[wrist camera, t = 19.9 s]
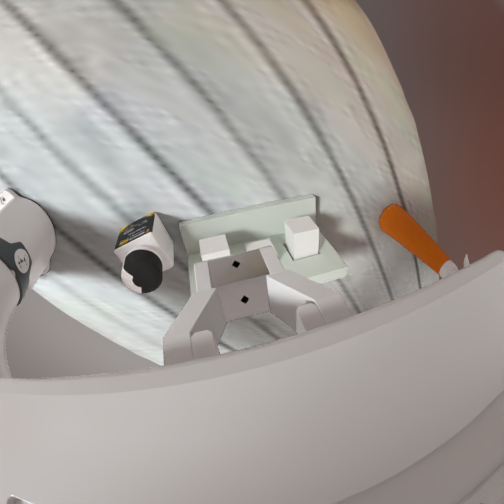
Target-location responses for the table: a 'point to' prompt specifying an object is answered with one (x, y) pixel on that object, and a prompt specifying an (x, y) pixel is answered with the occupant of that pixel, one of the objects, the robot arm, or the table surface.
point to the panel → (263, 236)
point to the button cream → (258, 245)
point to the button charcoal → (214, 247)
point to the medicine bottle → (144, 253)
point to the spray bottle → (416, 240)
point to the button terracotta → (301, 237)
